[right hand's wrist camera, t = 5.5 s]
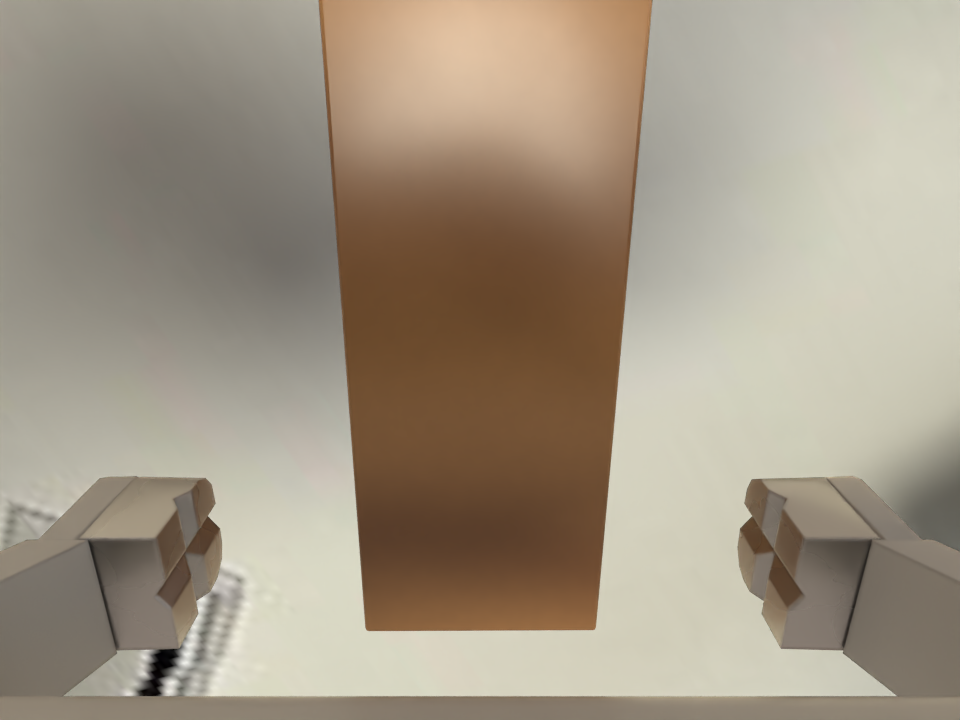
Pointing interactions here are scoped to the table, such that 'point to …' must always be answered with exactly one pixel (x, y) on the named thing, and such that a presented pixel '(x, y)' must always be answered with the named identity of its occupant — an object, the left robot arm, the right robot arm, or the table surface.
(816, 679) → the table surface
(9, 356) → the table surface
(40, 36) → the table surface
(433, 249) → the bar
